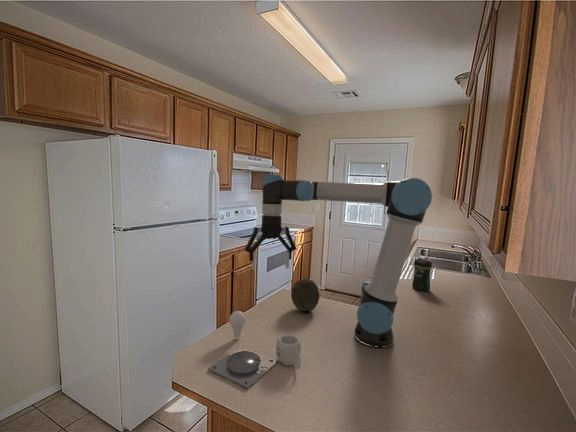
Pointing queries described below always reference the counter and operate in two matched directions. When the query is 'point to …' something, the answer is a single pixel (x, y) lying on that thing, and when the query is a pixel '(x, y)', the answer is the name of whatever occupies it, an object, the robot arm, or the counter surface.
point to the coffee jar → (422, 275)
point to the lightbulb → (237, 322)
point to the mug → (289, 350)
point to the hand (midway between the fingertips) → (270, 268)
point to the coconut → (305, 295)
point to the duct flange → (239, 368)
